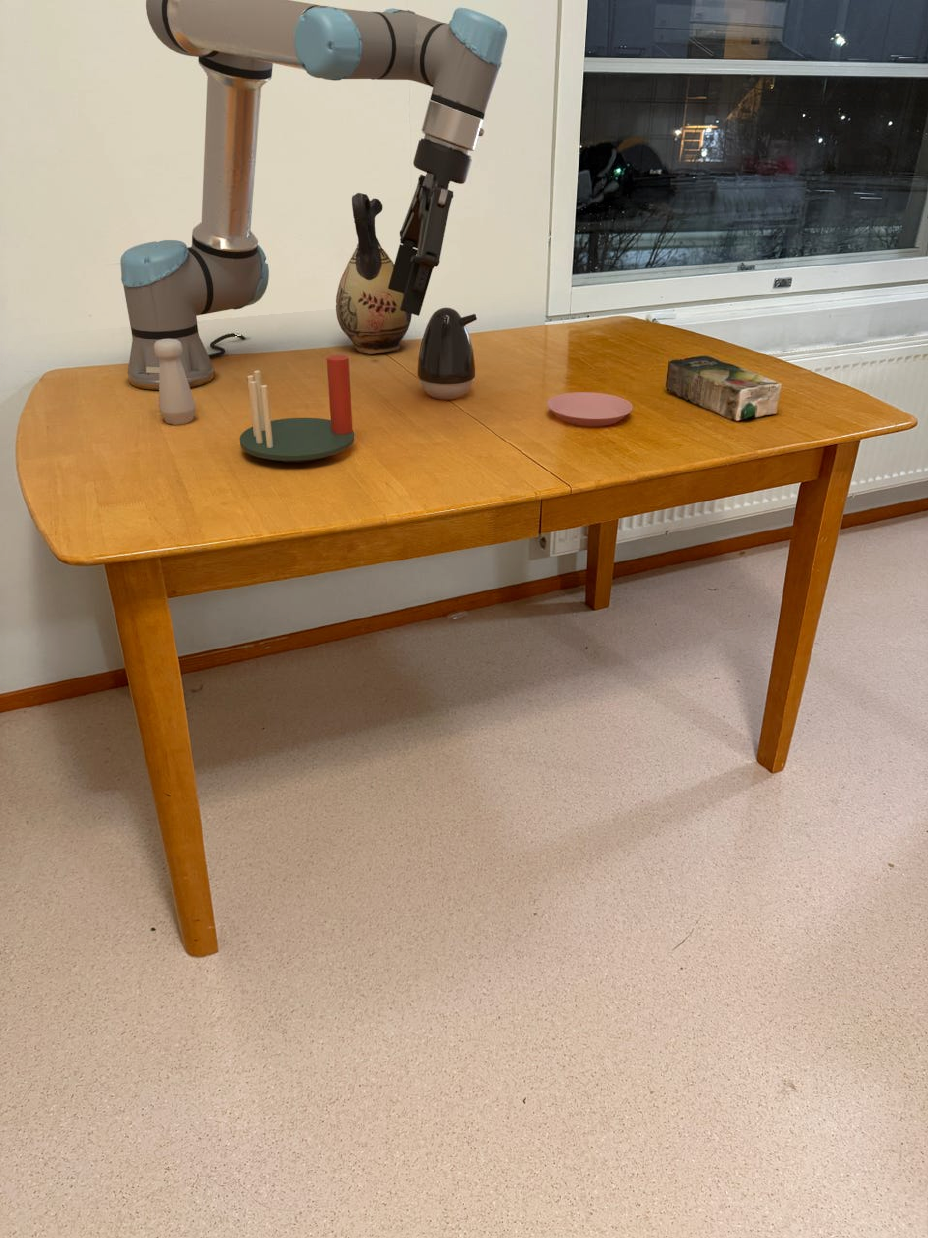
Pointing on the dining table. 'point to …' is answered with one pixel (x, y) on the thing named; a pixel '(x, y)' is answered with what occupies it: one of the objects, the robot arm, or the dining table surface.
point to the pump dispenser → (446, 355)
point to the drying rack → (301, 422)
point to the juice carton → (723, 387)
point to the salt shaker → (173, 384)
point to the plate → (589, 408)
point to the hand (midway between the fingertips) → (402, 301)
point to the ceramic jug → (370, 288)
